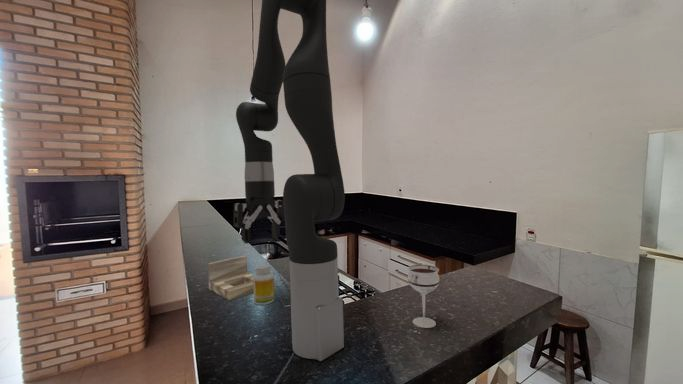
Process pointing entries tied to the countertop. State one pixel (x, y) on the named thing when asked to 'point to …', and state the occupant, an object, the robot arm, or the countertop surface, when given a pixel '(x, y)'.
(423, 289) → the wineglass
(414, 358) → the countertop surface
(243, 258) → the socket stand
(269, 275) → the supplement bottle
